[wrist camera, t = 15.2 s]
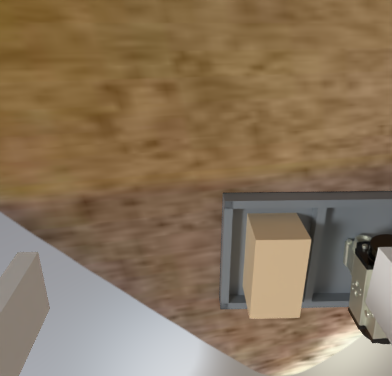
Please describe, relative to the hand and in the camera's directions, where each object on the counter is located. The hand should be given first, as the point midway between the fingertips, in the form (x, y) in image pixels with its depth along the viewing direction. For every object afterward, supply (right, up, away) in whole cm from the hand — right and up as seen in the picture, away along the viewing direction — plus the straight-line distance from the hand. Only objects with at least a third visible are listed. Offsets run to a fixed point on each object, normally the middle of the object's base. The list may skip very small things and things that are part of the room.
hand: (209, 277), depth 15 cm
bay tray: (+14, -4, +34) cm, 37 cm away
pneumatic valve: (+20, -4, +34) cm, 39 cm away
